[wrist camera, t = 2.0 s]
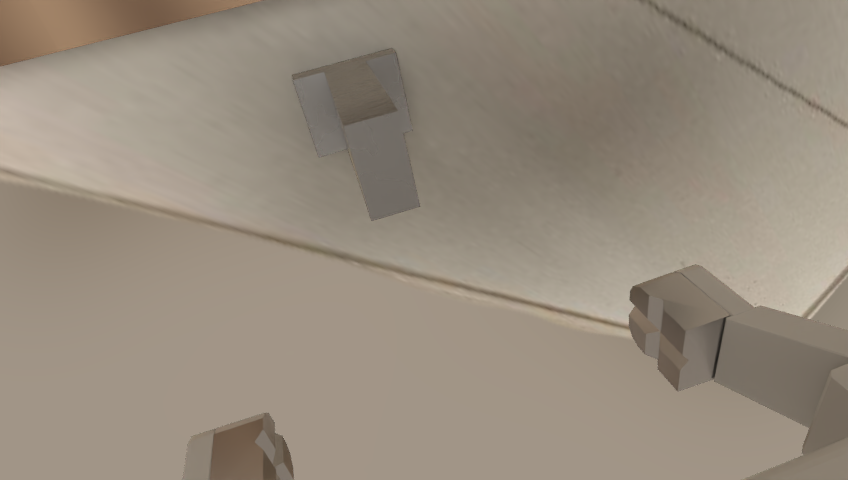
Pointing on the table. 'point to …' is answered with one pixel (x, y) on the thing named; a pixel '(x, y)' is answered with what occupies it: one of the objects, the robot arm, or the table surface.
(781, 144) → the table surface
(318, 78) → the steel bracket
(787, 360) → the robot arm
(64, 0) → the walnut well
